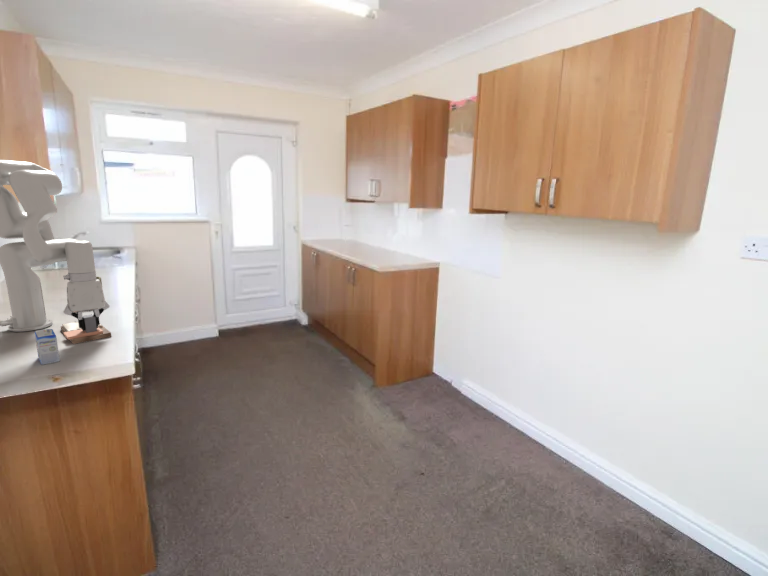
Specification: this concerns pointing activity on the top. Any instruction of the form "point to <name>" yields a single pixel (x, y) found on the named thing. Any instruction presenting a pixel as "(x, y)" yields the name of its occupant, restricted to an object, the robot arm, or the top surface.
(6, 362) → the top surface
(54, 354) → the medicine box
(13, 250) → the robot arm
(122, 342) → the top surface
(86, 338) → the board
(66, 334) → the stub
